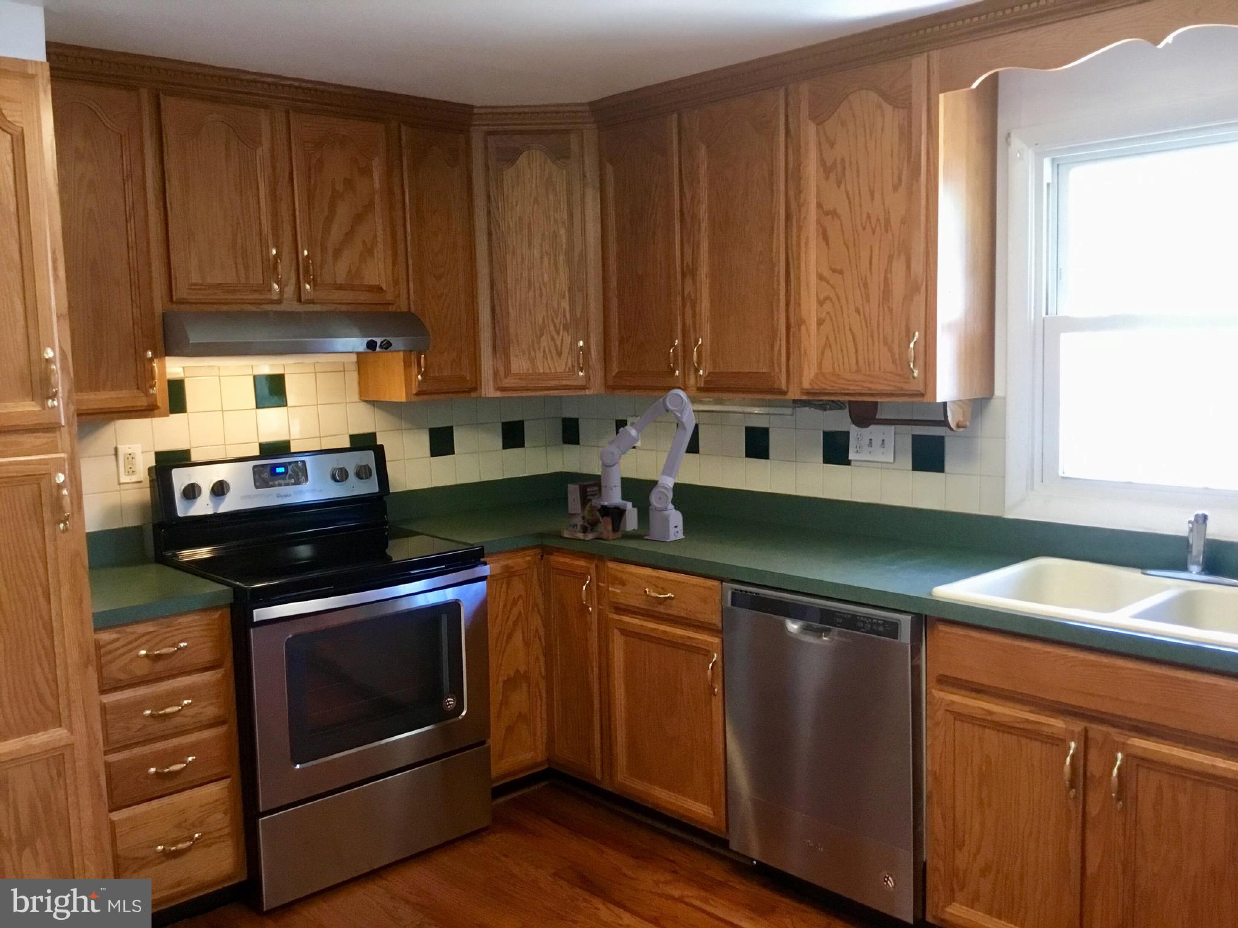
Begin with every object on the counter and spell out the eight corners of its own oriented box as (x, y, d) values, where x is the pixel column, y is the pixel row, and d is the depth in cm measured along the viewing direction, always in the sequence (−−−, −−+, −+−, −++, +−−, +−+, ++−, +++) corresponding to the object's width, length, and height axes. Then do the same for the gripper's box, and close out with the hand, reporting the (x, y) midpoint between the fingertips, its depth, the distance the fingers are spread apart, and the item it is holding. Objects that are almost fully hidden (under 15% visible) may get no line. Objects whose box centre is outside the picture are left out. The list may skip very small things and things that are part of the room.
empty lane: (640, 528, 340) (640, 507, 340) (623, 531, 335) (622, 510, 334) (603, 523, 352) (603, 503, 351) (586, 526, 346) (585, 506, 345)
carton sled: (630, 535, 327) (630, 513, 327) (599, 541, 318) (599, 519, 317) (592, 529, 338) (592, 509, 338) (561, 536, 329) (560, 515, 328)
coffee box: (583, 538, 325) (581, 485, 323) (568, 536, 329) (566, 483, 328) (604, 534, 331) (603, 481, 330) (589, 532, 336) (588, 480, 334)
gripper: (584, 485, 324) (585, 530, 325) (619, 489, 314) (620, 535, 315) (600, 483, 329) (602, 527, 330) (636, 486, 319) (637, 532, 320)
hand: (612, 531), depth 323 cm, fingers closed on carton sled, 2 cm apart
